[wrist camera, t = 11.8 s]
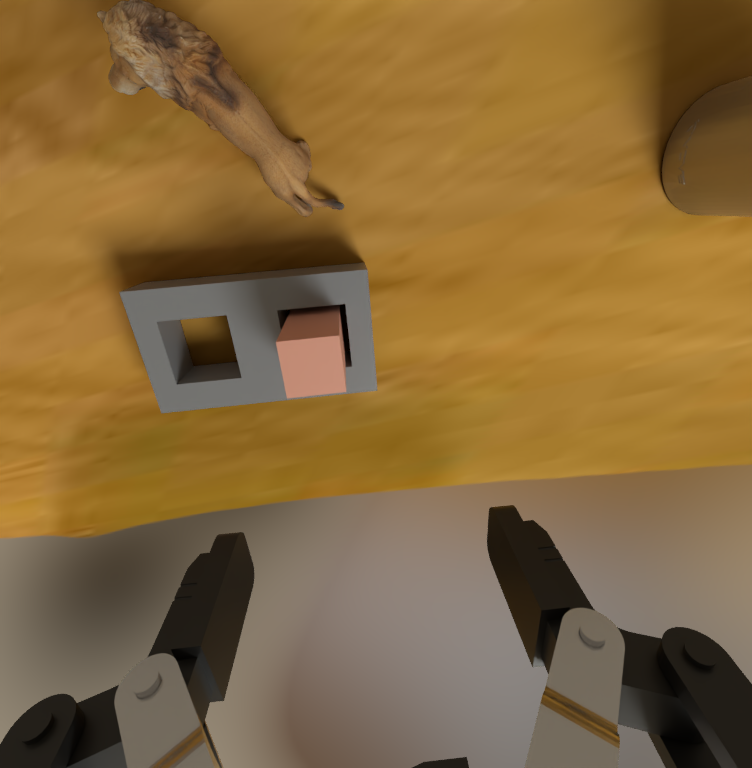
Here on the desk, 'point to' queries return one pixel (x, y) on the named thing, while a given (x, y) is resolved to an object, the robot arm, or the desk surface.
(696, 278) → the desk surface
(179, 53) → the lion figurine
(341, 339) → the peg
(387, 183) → the desk surface
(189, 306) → the pocket board
